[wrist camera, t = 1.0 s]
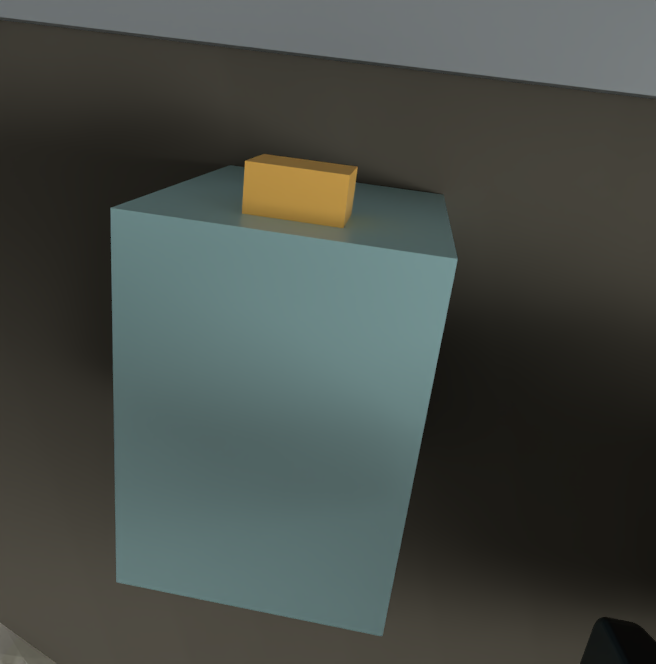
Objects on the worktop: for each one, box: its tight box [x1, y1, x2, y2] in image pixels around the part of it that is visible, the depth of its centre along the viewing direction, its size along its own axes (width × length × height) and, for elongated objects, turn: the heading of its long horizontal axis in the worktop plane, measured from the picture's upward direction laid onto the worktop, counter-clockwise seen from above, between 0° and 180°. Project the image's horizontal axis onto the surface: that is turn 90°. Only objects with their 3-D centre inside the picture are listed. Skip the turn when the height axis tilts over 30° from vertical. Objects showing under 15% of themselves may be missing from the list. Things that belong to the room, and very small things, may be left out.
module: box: [110, 154, 458, 636], centre depth 13 cm, size 5×8×6 cm, turn 173°
